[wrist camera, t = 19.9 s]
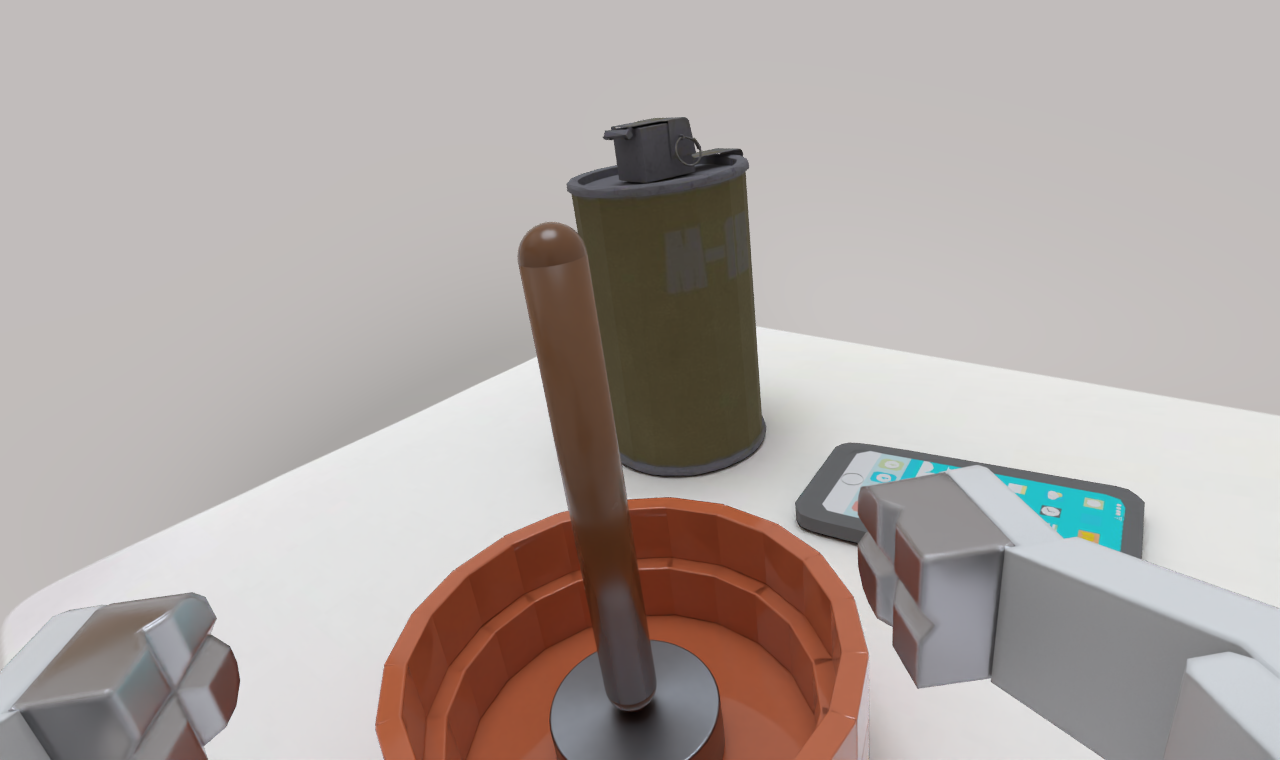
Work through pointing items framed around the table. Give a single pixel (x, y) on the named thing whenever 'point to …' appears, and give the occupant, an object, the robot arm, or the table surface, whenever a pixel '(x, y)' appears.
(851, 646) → the bowl
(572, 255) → the peg on round base
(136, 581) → the table surface
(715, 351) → the canister
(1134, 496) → the smartphone
